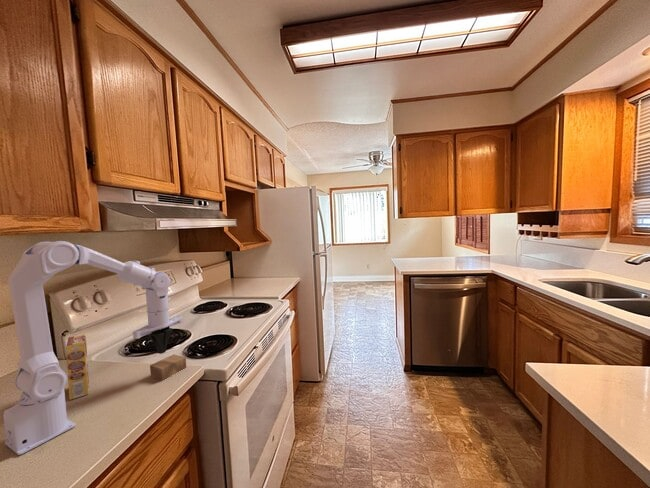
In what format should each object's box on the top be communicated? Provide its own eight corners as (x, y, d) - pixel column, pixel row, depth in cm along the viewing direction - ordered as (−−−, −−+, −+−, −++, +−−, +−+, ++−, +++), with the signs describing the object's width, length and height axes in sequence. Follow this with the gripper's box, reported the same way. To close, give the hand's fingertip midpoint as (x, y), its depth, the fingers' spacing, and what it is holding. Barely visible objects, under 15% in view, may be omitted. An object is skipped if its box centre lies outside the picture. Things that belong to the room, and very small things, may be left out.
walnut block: (162, 368, 84) (185, 357, 91) (149, 365, 87) (173, 354, 94) (163, 381, 84) (186, 369, 92) (150, 377, 87) (174, 365, 94)
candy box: (89, 394, 79) (84, 341, 78) (69, 400, 76) (63, 346, 75) (90, 381, 86) (86, 333, 85) (71, 387, 83) (66, 337, 82)
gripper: (171, 302, 95) (174, 341, 95) (125, 315, 82) (129, 360, 82) (185, 304, 91) (188, 344, 92) (139, 318, 78) (143, 364, 79)
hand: (161, 352), depth 87 cm, fingers closed
